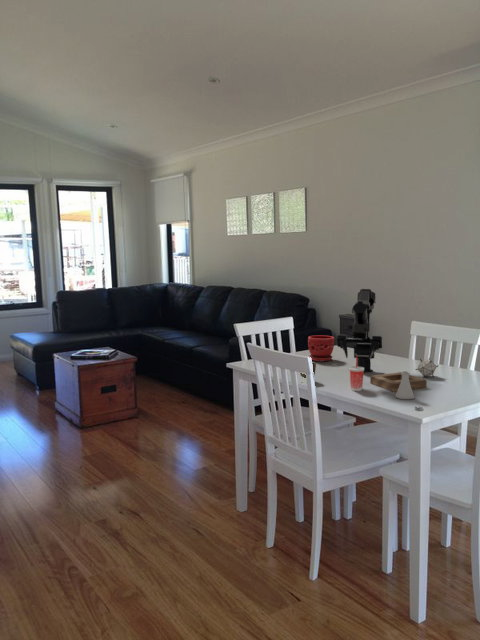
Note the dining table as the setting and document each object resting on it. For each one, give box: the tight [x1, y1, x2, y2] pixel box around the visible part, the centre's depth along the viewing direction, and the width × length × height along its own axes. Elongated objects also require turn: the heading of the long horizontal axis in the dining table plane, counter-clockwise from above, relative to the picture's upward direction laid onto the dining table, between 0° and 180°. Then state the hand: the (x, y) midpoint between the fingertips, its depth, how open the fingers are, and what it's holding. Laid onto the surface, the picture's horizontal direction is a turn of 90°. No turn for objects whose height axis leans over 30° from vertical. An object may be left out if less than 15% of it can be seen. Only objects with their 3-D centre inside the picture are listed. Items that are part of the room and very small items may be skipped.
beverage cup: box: [348, 356, 365, 392], centre depth 235 cm, size 6×6×14 cm
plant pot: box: [307, 334, 335, 362], centre depth 294 cm, size 13×13×12 cm
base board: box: [369, 371, 427, 393], centre depth 241 cm, size 16×16×3 cm
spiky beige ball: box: [415, 357, 439, 378], centre depth 255 cm, size 9×8×10 cm
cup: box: [299, 362, 317, 378], centre depth 251 cm, size 8×7×8 cm
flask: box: [395, 370, 415, 400], centre depth 223 cm, size 7×7×10 cm
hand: (357, 358), depth 240 cm, fingers open, 9 cm apart
